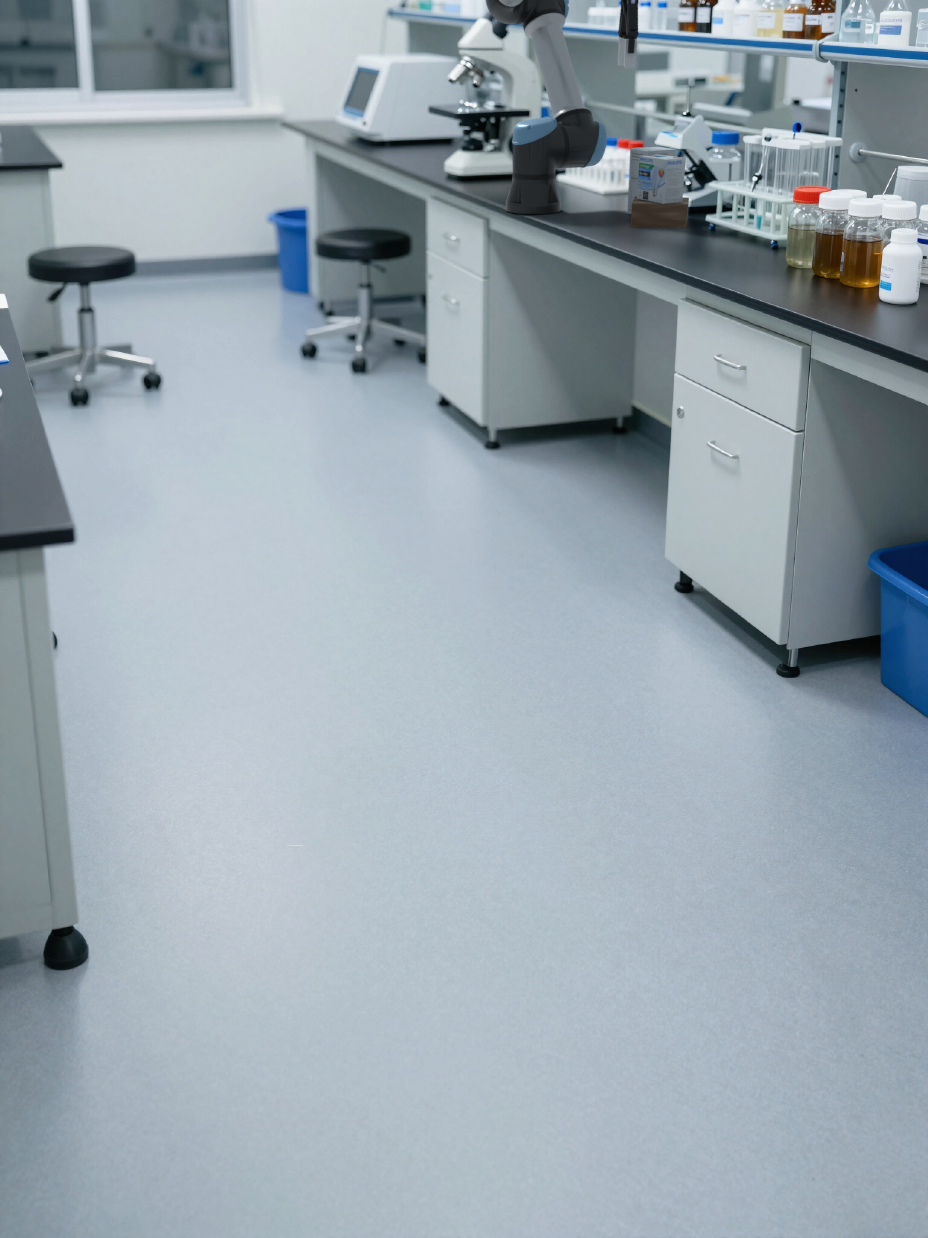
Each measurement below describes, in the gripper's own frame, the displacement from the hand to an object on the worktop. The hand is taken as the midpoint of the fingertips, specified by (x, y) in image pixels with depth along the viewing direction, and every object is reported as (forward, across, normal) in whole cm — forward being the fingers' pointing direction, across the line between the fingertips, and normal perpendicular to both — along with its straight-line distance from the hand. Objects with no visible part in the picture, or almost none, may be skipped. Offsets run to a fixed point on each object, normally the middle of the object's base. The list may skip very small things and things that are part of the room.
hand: (626, 66), depth 319 cm
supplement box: (+37, -6, +9) cm, 38 cm away
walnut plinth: (+37, +9, +10) cm, 39 cm away
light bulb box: (+31, +9, +9) cm, 34 cm away
